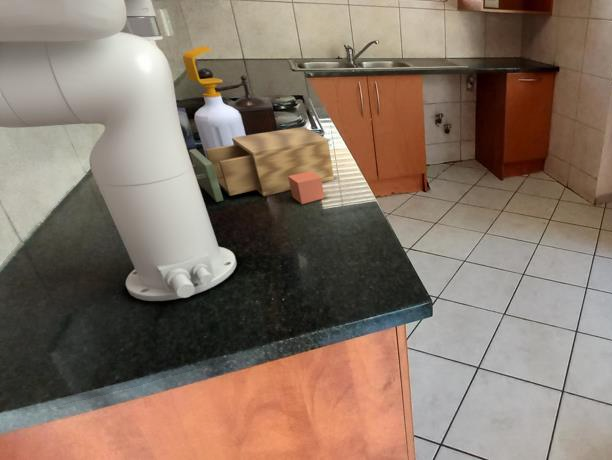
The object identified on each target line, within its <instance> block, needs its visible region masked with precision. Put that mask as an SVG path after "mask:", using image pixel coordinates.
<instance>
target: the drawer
mask: <svg viewBox="0 0 612 460" xmlns="http://www.w3.org/2000/svg"><path fill="white" fill-rule="evenodd" d="M205 151H206V154H207V158H208V159H207V158H206V156H205V155H203V154H202V153H201V152H200V151H199V150H197V149H192V150H189V152H188V154H189V157H190V160H191V163H192V167H193V170H194V172H195V176H196V179H197V181H198V185H199V186H201V188H202V189H204V191H205V192H206V193H207V194H208V195H209V196H211V198H212V199H213V200H214V201H215V202H222V201H224V196H223V194H222V190H223V191H224V192H225V193H226V194H227V195H229V196H231V197H232V196H235V195H240V194H243V193H248V192H252V191H253V192H254V191H257V189H261V188H260V184H259V180H258V176H257V172H256V168H255V164H254V160H253V155H251V154H250V153H248V152H247V151H246V150H244V149H243V148H241V147H240V146H239V145H237V144H235V145H229V146H223V147H217V148H210V149H205ZM221 189H222V190H221Z"/></svg>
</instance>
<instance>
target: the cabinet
mask: <svg viewBox="0 0 612 460" xmlns="http://www.w3.org/2000/svg"><path fill="white" fill-rule="evenodd" d="M232 141H233V144H234V145H235V144H237V145H239V146H240V147H241V148H243V149H244V150H246V151H247V152H248V153H250V154H251V155H253V160H254V164H255V168H256V172H257V176H258V180H259V184H260V188H261V189H257V190H256V191H257V192H258V193H259V194H260V195H261V196H263V197H267V196H271V195H275V194H279V193H283V192H289V191H291V188H290V183H289V178H288V176H291V175H295V174H300V173H304V172H309V171H312V172H313V173H315V174H316V175H318V176H319V177H321V181H322V183H324V182H329V181H333V180H335V176H334V169H333V163H332V157H331V151H330V145H329V139H328V138H326V137H324V136H323V135H321V134H319V133H317V132H314V131H313V130H310V129H308V128H307V127H305V126H300V127H292V128H286V129H280V130H279V129H278V131H273V132H266V133H260V134H253V135H246V136H240V137H233V138H232Z"/></svg>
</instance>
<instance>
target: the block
mask: <svg viewBox="0 0 612 460" xmlns="http://www.w3.org/2000/svg"><path fill="white" fill-rule="evenodd" d="M288 178H289V183H290V188H291V190H290V191H291V196H292V199H294V200H296V201H297V202H298V203H300V204H301V205H304V204H308V203H312V202H316V201H319V200H323V199H325V192H324V188H323V182H322V181H321V177H319V176H318V175H316V174H315V173H313V172H312V171H309V172H304V173H300V174H295V175H291V176H288Z"/></svg>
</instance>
